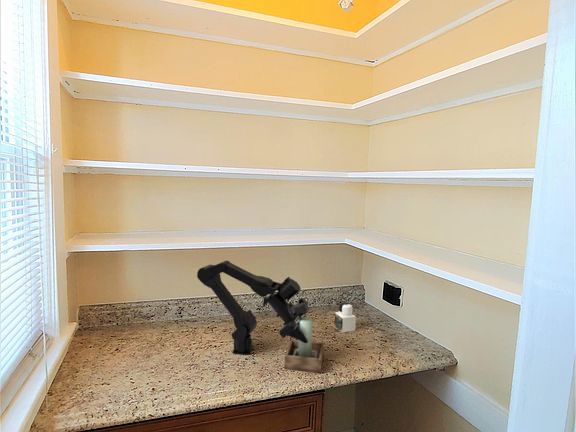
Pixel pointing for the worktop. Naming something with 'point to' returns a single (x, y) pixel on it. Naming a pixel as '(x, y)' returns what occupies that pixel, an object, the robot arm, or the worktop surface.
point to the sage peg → (306, 329)
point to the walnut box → (304, 358)
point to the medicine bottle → (345, 318)
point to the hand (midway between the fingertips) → (308, 339)
